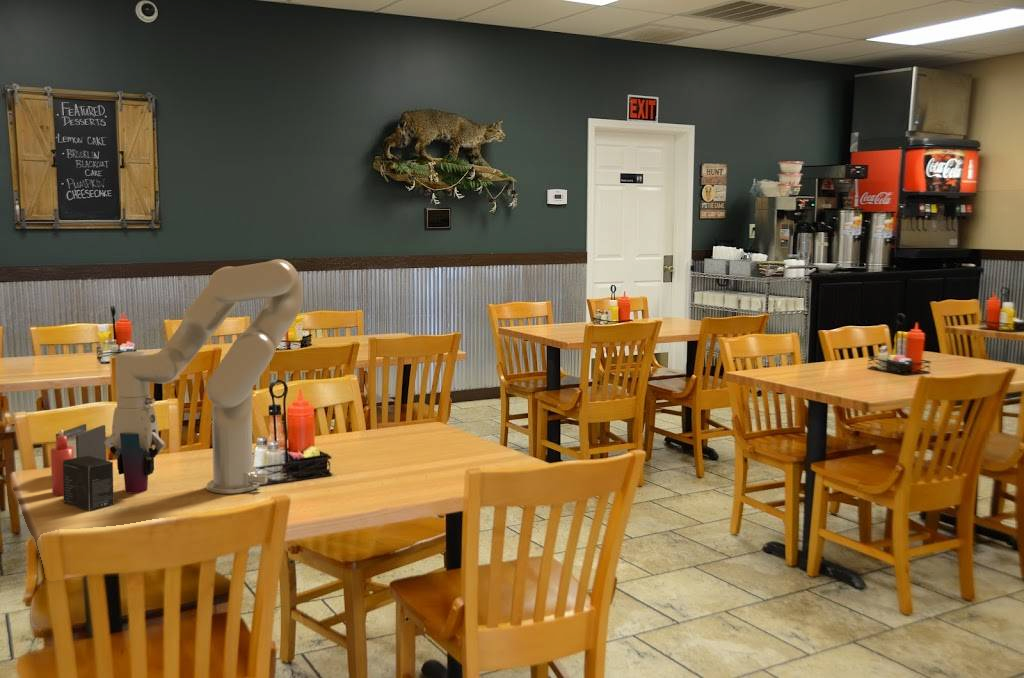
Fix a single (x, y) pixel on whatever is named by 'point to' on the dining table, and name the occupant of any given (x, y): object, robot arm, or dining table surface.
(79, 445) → the napkin holder
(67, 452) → the ketchup bottle
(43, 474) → the dining table surface
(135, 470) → the cup
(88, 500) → the box
